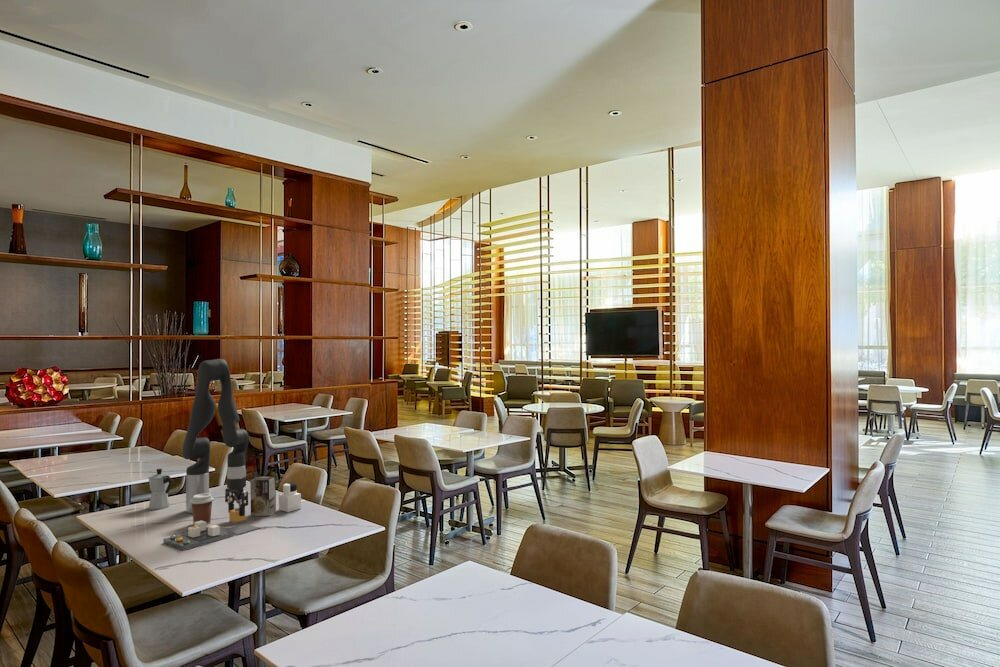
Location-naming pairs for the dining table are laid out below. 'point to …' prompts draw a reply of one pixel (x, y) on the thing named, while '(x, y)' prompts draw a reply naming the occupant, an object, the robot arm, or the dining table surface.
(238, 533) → the lockout mat
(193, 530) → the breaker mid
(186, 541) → the dark grey flat slab
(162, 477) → the coffee maker
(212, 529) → the breaker
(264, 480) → the coffee box
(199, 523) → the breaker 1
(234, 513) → the lockout cap
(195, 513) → the coffee cup
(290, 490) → the medicine bottle
